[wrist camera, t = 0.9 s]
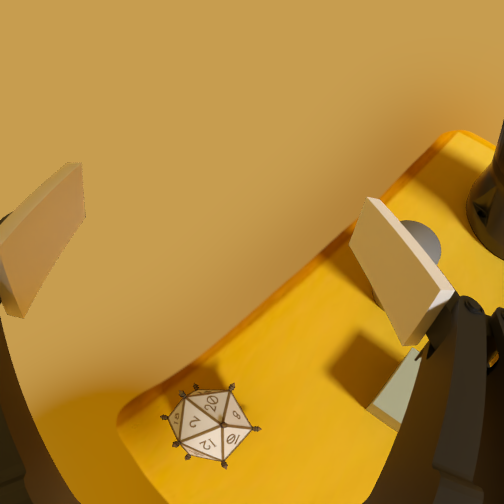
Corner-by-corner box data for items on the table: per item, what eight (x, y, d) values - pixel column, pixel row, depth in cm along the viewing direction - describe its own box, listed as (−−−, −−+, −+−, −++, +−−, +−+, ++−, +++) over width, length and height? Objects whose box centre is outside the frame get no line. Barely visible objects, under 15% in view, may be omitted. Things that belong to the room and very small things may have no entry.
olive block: (441, 392, 25) (462, 381, 20) (408, 440, 23) (425, 439, 18) (399, 363, 28) (412, 347, 23) (365, 409, 26) (372, 403, 21)
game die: (221, 417, 33) (173, 358, 30) (283, 420, 28) (238, 353, 26) (186, 476, 25) (124, 420, 23) (252, 492, 21) (188, 434, 18)
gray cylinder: (429, 284, 32) (449, 239, 24) (405, 324, 30) (424, 286, 23) (388, 260, 35) (398, 211, 28) (362, 296, 33) (368, 252, 26)
